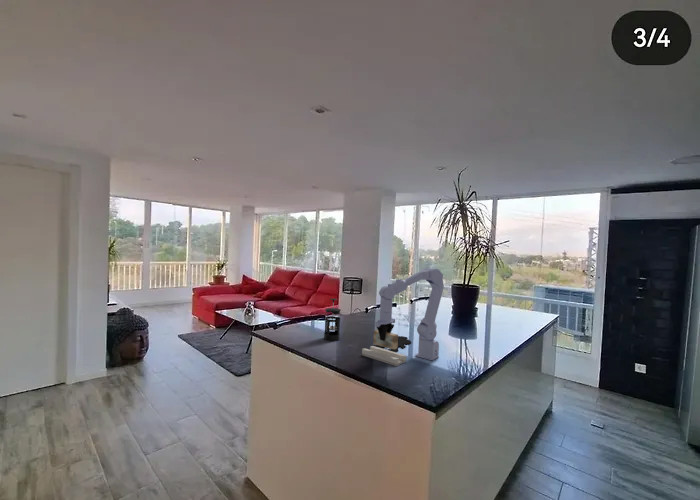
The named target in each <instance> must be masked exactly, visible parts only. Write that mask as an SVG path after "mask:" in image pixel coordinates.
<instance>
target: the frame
mask: <svg viewBox="0 0 700 500" xmlns="http://www.w3.org/2000/svg"><path fill="white" fill-rule="evenodd" d="M398 336H399V334H397V333H392V332H391V333H389V332H386V336H385V341H383V340H380V335H379V332H378V329H374V330H373V341H372V343H373V345H379V346H383V347H385V348H387V349H397V347H398Z"/></svg>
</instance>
